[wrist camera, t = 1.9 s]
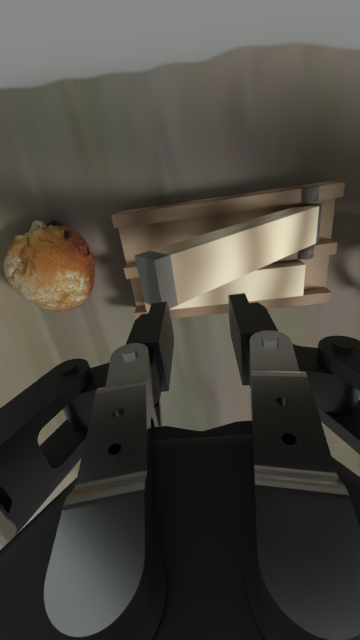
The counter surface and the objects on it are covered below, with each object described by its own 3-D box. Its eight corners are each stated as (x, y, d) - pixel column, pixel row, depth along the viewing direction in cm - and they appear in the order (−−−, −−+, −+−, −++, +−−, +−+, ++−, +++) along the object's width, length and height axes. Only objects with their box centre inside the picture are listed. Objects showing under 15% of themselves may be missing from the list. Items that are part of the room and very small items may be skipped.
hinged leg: (303, 203, 28) (327, 203, 26) (301, 238, 29) (323, 239, 28) (134, 255, 18) (154, 260, 16) (144, 302, 20) (163, 311, 18)
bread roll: (29, 261, 38) (-7, 304, 33) (23, 196, 30) (-27, 240, 25) (98, 290, 39) (73, 335, 35) (110, 235, 31) (79, 283, 27)
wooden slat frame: (326, 181, 29) (350, 182, 24) (315, 288, 34) (334, 305, 30) (120, 210, 31) (108, 217, 26) (141, 307, 36) (134, 326, 32)
